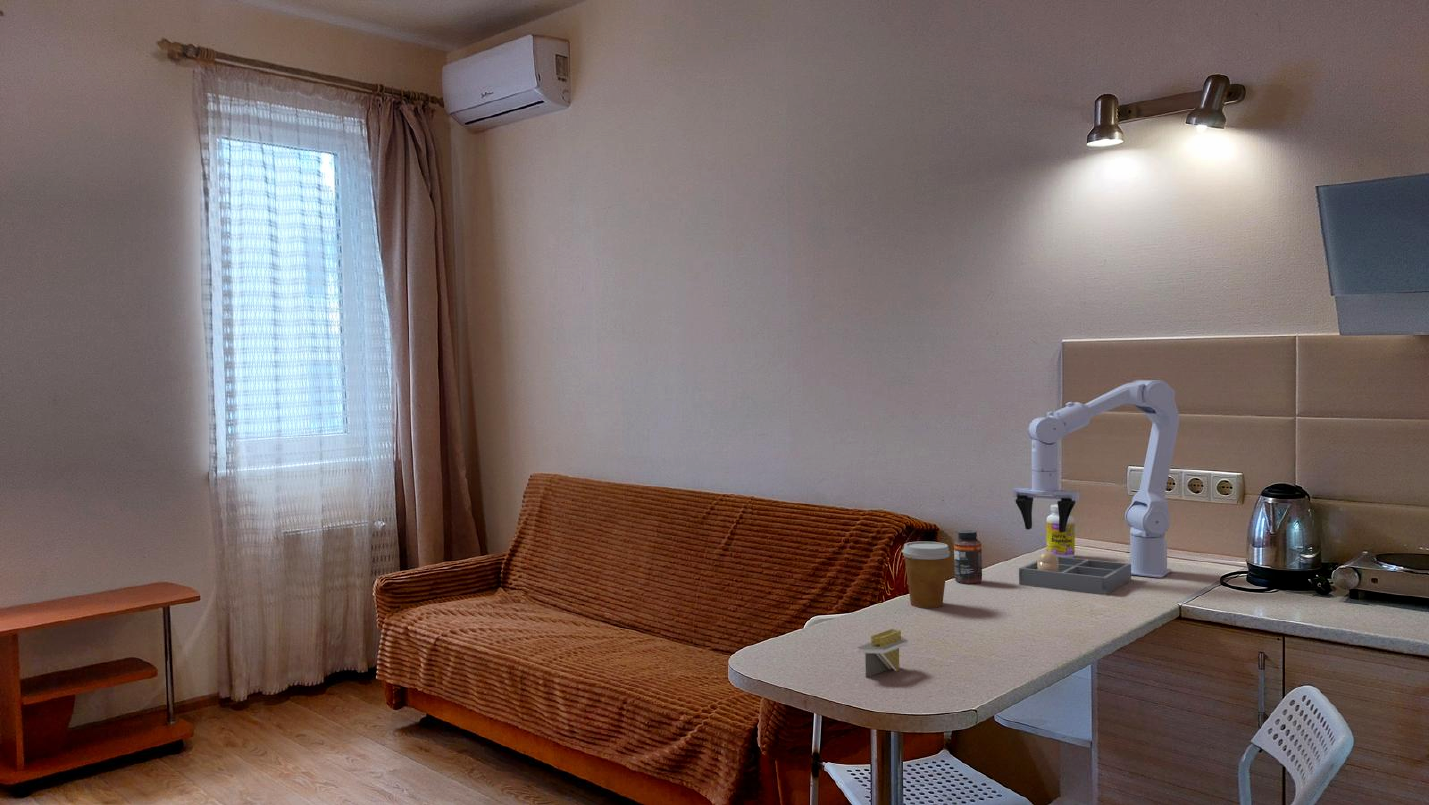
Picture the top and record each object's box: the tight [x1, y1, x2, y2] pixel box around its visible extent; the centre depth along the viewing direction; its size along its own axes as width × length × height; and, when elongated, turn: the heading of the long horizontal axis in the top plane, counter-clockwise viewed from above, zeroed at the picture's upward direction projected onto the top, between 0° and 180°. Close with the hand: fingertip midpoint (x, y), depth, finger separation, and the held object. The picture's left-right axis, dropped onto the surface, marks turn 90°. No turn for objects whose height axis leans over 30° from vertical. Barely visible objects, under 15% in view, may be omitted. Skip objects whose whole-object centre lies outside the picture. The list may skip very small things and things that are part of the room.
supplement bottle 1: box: [953, 529, 983, 585], centre depth 219 cm, size 6×6×11 cm
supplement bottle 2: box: [1045, 504, 1076, 558], centre depth 246 cm, size 7×7×13 cm
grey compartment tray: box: [1018, 556, 1132, 596], centre depth 217 cm, size 18×18×4 cm
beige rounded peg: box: [1036, 550, 1059, 572], centre depth 216 cm, size 4×4×6 cm
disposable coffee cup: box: [901, 541, 951, 609], centre depth 198 cm, size 10×10×12 cm
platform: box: [856, 628, 909, 679], centre depth 153 cm, size 12×18×7 cm, turn 136°
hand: (1045, 530), depth 223 cm, fingers open, 7 cm apart
